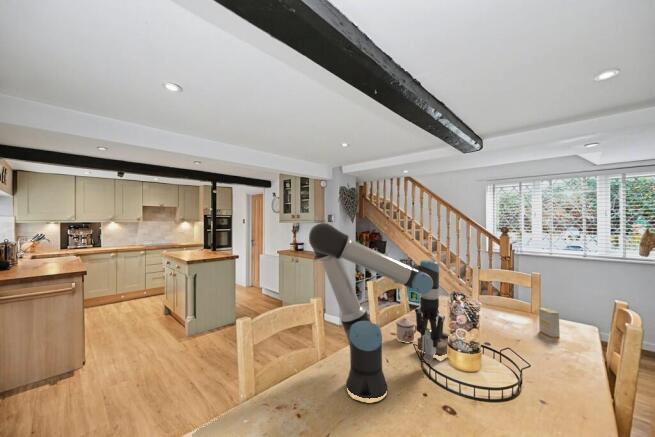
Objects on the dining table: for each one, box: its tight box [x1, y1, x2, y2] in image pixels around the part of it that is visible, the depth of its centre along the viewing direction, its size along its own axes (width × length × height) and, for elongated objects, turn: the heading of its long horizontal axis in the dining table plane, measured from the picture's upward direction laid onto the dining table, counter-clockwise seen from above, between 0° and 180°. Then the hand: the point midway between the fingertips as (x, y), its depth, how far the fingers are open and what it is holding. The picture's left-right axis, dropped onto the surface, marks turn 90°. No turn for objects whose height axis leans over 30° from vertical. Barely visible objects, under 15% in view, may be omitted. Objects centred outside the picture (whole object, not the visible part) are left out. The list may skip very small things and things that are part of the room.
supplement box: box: [538, 307, 560, 338], centre depth 143 cm, size 8×5×13 cm, turn 179°
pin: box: [424, 327, 434, 361], centre depth 113 cm, size 3×3×12 cm
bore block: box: [417, 332, 450, 356], centre depth 126 cm, size 16×12×6 cm
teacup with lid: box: [395, 316, 418, 342], centre depth 139 cm, size 12×9×12 cm
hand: (429, 352), depth 113 cm, fingers closed on pin, 3 cm apart
